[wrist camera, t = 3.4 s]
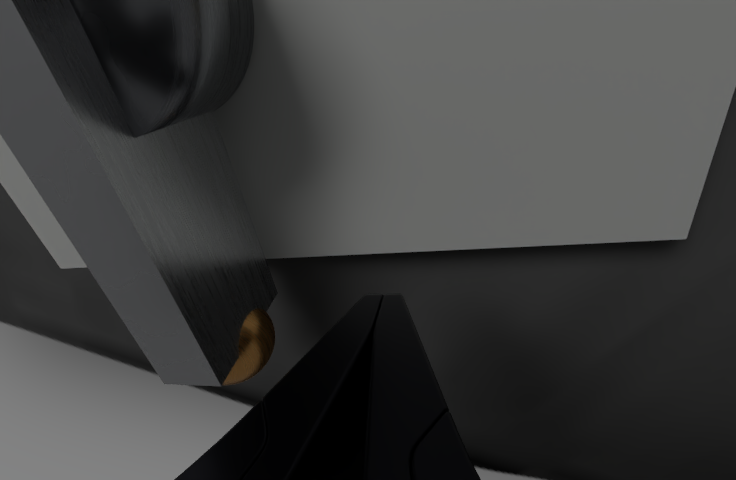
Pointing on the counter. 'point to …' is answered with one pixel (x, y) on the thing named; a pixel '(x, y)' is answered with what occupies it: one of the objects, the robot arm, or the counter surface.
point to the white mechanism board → (465, 124)
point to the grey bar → (145, 168)
